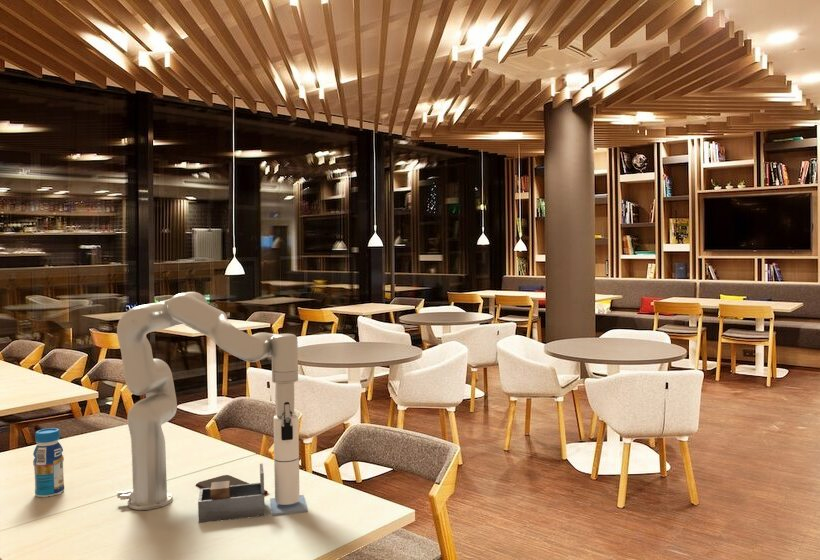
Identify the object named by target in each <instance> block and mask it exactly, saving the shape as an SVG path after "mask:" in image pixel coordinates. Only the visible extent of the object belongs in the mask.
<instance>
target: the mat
mask: <svg viewBox="0 0 820 560" xmlns="http://www.w3.org/2000/svg"><path fill="white" fill-rule="evenodd" d="M269 502H270V510H271V516H273V515H275V516H281V515H282V514H283V515H289V514H290V513H292V514H298V513H299V512H301V513H307V512H308V507H307V503H306V500H305V495H304V494H300V500H299V501H298V502H296V503H294V504H288V505H281V504H277V503H276V502H275V497H272V498H269ZM299 514H300V513H299ZM283 515H282V516H283Z"/></svg>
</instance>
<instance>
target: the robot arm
mask: <svg viewBox="0 0 820 560" xmlns="http://www.w3.org/2000/svg"><path fill="white" fill-rule="evenodd" d="M177 325H185V327H188V328H190V329H192V330H194V331H196V332H198V333H200V334H201V335H204V336H206V337H207V338H209V339H210V340H211V341H212V342H213V343H214V344H215V345H217V346H218V347H219V348H220V349H222V351H225V352H227V353H228V354H229V355H232V356H234V357H236V358H238V359H240V360H242V361H244V362H247V363H248V362H249V363H256V362H259V361H261V360H263V359H266V358H269V357H271V382H272V383H273V384H275V389H274V390H275V391H274V392H275V394H274V395H275V398H274V399H275V400H274V401H275V415H277V417H279V416H282V426H281V439H282V440H292V439H293V425H292V416H293V415H294V414H295V383H297V382H299V357H298V356H299V353H298V351H299V349H298V348H299V346H298V337H297V335H296V334H293V333H271V332H265V331H264V332H257V333H254V334H249V333H247V332H245V331H242V330H241V329H239V328H237V327H235V326H234V325H233V324H231V322H230V321H229V320H228V317H227V314H226V312H224V311H223V310H221V309H218V308H217V307H215V306H213V305H210V304H209V303H208V300H207V299H206V298H205V296H204V295H203V294H201V293H199V292H196V291H186V292H181V293H180V292H179V293H177V294H175V295H173V296H172V297H171V298H169V299H165V300H162V301H158V302H152V303H147V304H141V305H137V306H135V307H132V308H131V309H128V310H127V311H126V312H125V313H123V315H122V316H121V317H120V319H119V320H118V323H117V328H116V334H117V335H116V336H117V341H118V344H119V348H120V353H121V362H122V367H123V373H124V379H125V385H126V387H127V390H128V391H129V392H130V393H131V394H133V395H136V396H142V395H145V398H142V399H140V400H138V401H137V402H135V403H134V404H133V405H132V406H131V407H130V408H129V410H128V412H127V420H126V422H127V427H128V431H129V437H130V445H131V446H130V449H131V470H132V471H131V472H132V489H130V488H129V489H128V490H126V491H125V490H121V491H120V490H119V491H117V494H116V495H117V499H120V500H121V501H122V500H127V507H128V508H129V509H130V510H131V509H132V510H137V511H147V510H155V509H158V508H162V507H165V506H167V505H169V504H170V503H171V502H172V501H173V499H174V498H173V494H172V493H171V492H168V489H167V487H168V483H167V455H166V454H167V453H166V451H167V450H166V439H165V435H164V432H163V428H162V425H164V424H166V423H167V422H169V421H170V420H172V419H173V418H174V417H175V415H176V413H177V409H178V402H177V401H178V400H177V394H176V390H175V383H174V378H173V373H172V370H171V368H170V366H169V364H168V363H167V362H166V361H164V360H163V359H160V358H154V356H153V350H152V345H151V343H150V341H149V339H148V337H147V334H149V333H152V332H157V331H161V330H165V329H168V328H172V327H175V326H177ZM283 414H285V415H283ZM284 418H285V419H284Z"/></svg>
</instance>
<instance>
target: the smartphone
mask: <svg viewBox="0 0 820 560" xmlns="http://www.w3.org/2000/svg"><path fill="white" fill-rule="evenodd" d="M222 481H230V486H233V485H242V484H250V483H249V482H247V481H244V480H242V479H239V478H237V477H234V476H232V475H229V474H223V475H219V476H216V477H212V478H208V479H204V480H202V481H199V482H196V484H195V487H197V488H199V489H203V488H211V484H212V482H222ZM267 495H268V491H267V489H264V496H267Z"/></svg>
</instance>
